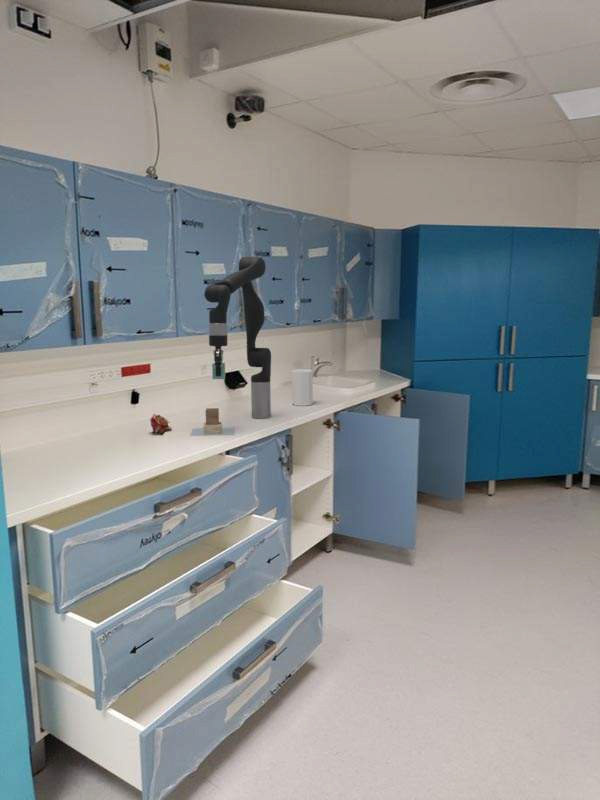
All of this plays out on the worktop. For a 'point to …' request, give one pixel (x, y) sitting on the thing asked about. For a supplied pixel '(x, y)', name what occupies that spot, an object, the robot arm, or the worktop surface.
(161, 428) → the flower
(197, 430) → the board
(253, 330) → the robot arm
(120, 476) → the worktop surface
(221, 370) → the block teal
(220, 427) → the base block
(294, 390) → the cup
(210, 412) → the block walnut
